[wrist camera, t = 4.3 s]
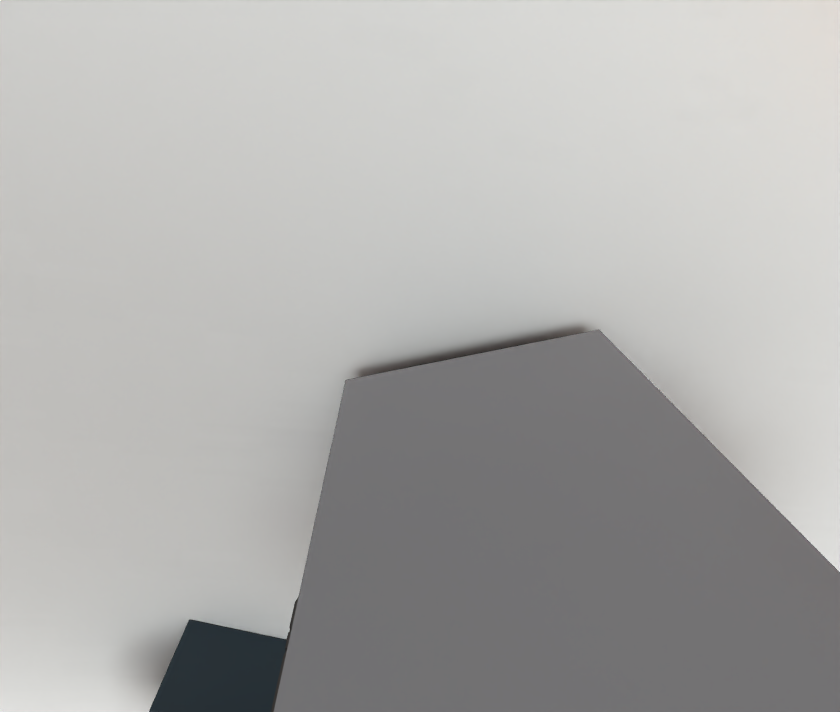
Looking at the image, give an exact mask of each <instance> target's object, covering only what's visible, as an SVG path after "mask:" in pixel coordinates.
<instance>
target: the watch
mask: <svg viewBox="0 0 840 712" xmlns="http://www.w3.org/2000/svg"><path fill="white" fill-rule="evenodd" d="M286 641H287V640H284V639H279V638H274V637H270V636H265V635H260V634H255V633H251V632H246V631H241V630H236V629H232V628H227V627H222V626H217V625H213V624H208V623H203V622H198V621H194V620H189V621H188V624H187V626H186V628H185V630H184V633H183V635H182V637H181V640H180V642H179V644H178V646H177V649H176V651H175V653H174V656H173V658H172V660H171V662H170V665H169V667H168V669H167V672H166V674H165V676H164V678H163V681H162V683H161V685H160V688H159V690H158V692H157V694H156V697H155V699H154V701H153V703H152V706H151V708H150V711H149V712H271V709H272V704H273V700H274V695H275V691H276V686H277V682H278V677H279V673H280V668H281V664H282V659H283V655H284V653H285V645H286Z"/></svg>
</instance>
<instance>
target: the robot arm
mask: <svg viewBox="0 0 840 712" xmlns="http://www.w3.org/2000/svg"><path fill="white" fill-rule="evenodd" d="M297 602H298V598H297V600H296V602H295V605H294V609H293V614H292V618H291V623H290V632H288V636H287V641H286V645H285V653H284V655H283V659H282V664H281V668H280V673H279V677H278V682H277V686H276V691H275V695H274V700H273V704H272V709H271V712H274V708H275V703H276V699H277V694H278V689H279V685H280V680H281V676H282V671H283V666H284V662H285V657H286V653H287V648H288V643H289V639H290V634H291V630H292V625H293V620H294V616H295V611H296V607H297Z"/></svg>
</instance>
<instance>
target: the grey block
mask: <svg viewBox="0 0 840 712" xmlns="http://www.w3.org/2000/svg"><path fill="white" fill-rule="evenodd" d="M274 712H840V572H839V571H838V570H837V569H836V568H835V567H834V566H833V565H832V564H831V563H830V562H829V561H828V560H827V559H826V558H825V557H824V556H823V555H822V554H821V553H820V552H819V551H818V550H817V549H816V548H815V547H814V546H813V545H812V544H811V543H810V542H809V541H808V540H807V539H806V538H805V537H804V536H803V535H802V534H801V533H800V532H799V531H798V530H797V529H796V528H795V527H794V526H793V525H792V524H791V523H790V522H789V521H788V520H787V519H786V518H785V517H784V516H783V515H782V514H781V513H780V512H779V511H778V510H777V509H776V508H775V507H774V506H773V505H772V504H771V503H770V502H769V501H768V500H767V499H766V498H765V497H764V496H763V495H762V494H761V493H760V492H759V491H758V490H757V489H756V488H755V487H754V486H753V485H752V484H751V483H750V482H749V481H748V480H747V479H746V477H745V476H744V475H743V474H742V473H741V472H740V471H739V470H738V469H737V468H736V467H735V466H734V465H733V464H732V463H731V462H730V461H729V460H728V459H727V458H726V457H725V456H724V455H723V454H722V453H721V452H720V451H719V450H718V449H717V448H716V447H715V446H714V445H713V444H712V443H711V442H710V441H709V440H708V439H707V438H706V437H705V436H704V435H703V434H702V433H701V432H700V431H699V430H698V429H697V428H696V427H695V426H694V425H693V424H692V423H691V422H690V421H689V420H688V419H687V418H686V417H685V416H684V415H683V414H682V413H681V412H680V411H679V410H678V409H677V408H676V407H675V406H674V405H673V404H672V403H671V402H670V401H669V400H668V399H667V398H666V397H665V396H664V395H663V394H662V393H661V392H660V391H659V390H658V389H657V388H656V387H655V386H654V385H653V384H652V383H651V382H650V381H649V380H648V379H647V378H646V377H645V376H644V375H643V374H642V373H641V372H640V371H639V370H638V369H637V368H636V367H635V366H634V365H633V364H632V363H631V362H630V361H629V360H628V359H627V358H626V357H625V356H624V355H623V354H622V353H621V352H620V350H619V349H618V348H617V347H616V346H615V345H614V344H613V343H612V342H611V341H610V340H609V339H608V338H607V337H606V336H605V335H604V334H603V333H602V332H601V331H600V330H595V331H590V332H585V333H580V334H575V335H570V336H565V337H560V338H555V339H550V340H545V341H540V342H535V343H529V344H524V345H519V346H514V347H509V348H504V349H499V350H494V351H489V352H484V353H479V354H474V355H469V356H464V357H459V358H454V359H449V360H444V361H439V362H434V363H429V364H424V365H419V366H414V367H409V368H404V369H399V370H394V371H389V372H383V373H378V374H373V375H368V376H363V377H358V378H353V379H348V380H346V381H345V386H344V390H343V395H342V399H341V404H340V409H339V413H338V418H337V422H336V427H335V432H334V436H333V441H332V445H331V450H330V455H329V459H328V464H327V468H326V473H325V478H324V482H323V487H322V491H321V496H320V501H319V505H318V510H317V514H316V519H315V524H314V528H313V533H312V537H311V542H310V547H309V551H308V556H307V561H306V565H305V570H304V574H303V579H302V584H301V588H300V593H299V597H298V602H297V607H296V611H295V616H294V620H293V625H292V630H291V634H290V639H289V643H288V648H287V653H286V657H285V662H284V666H283V671H282V676H281V680H280V685H279V689H278V694H277V699H276V703H275V708H274Z"/></svg>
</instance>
